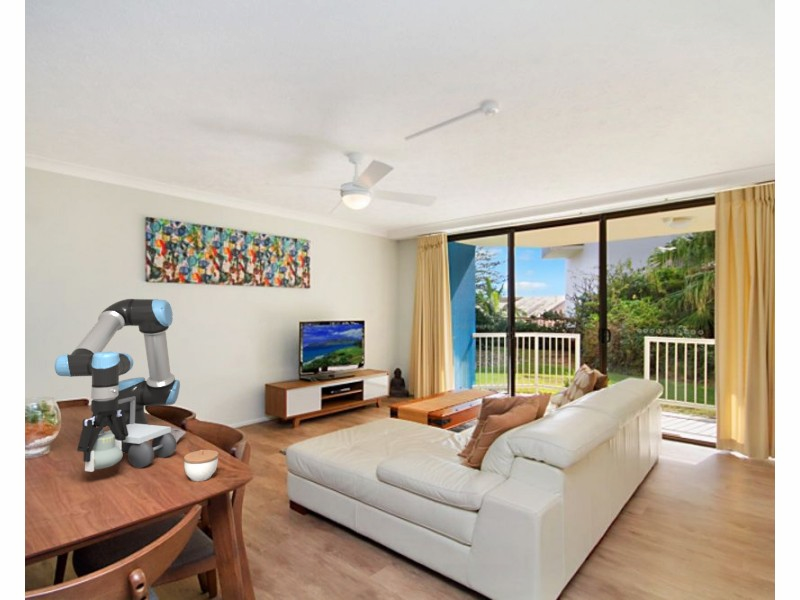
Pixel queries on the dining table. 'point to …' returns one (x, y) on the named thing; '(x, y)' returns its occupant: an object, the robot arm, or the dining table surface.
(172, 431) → the decorative stone
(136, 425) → the trolley
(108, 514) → the dining table surface
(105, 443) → the air freshener
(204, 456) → the lidded jar
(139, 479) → the dining table surface
